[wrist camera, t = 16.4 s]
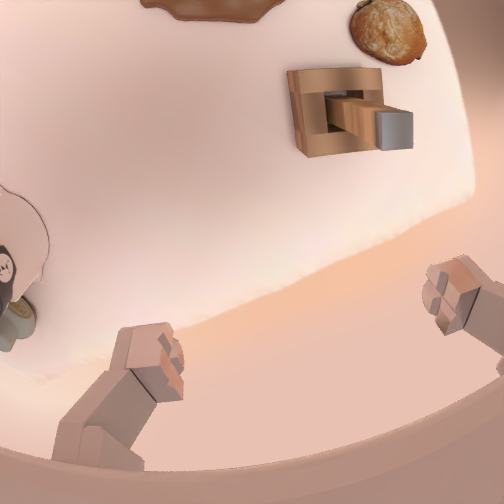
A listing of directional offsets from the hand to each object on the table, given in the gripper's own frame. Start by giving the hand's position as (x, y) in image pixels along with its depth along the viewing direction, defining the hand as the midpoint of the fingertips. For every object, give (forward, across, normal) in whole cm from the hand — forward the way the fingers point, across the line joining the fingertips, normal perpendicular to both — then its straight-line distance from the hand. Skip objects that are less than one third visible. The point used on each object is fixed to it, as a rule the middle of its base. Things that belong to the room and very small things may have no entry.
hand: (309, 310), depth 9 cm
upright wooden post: (+31, +12, +1) cm, 33 cm away
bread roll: (+31, +21, +11) cm, 40 cm away
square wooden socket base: (+31, +12, +1) cm, 33 cm away
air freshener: (+31, -48, -20) cm, 61 cm away
